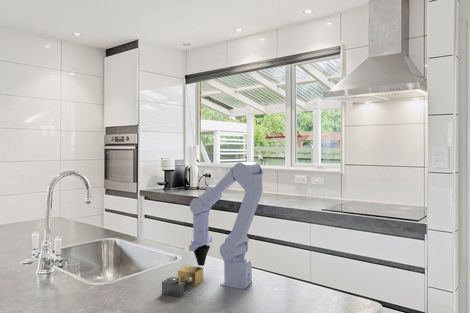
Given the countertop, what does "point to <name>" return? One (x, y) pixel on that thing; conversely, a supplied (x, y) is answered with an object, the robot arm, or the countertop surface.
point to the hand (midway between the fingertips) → (201, 265)
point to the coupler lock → (191, 274)
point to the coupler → (173, 287)
